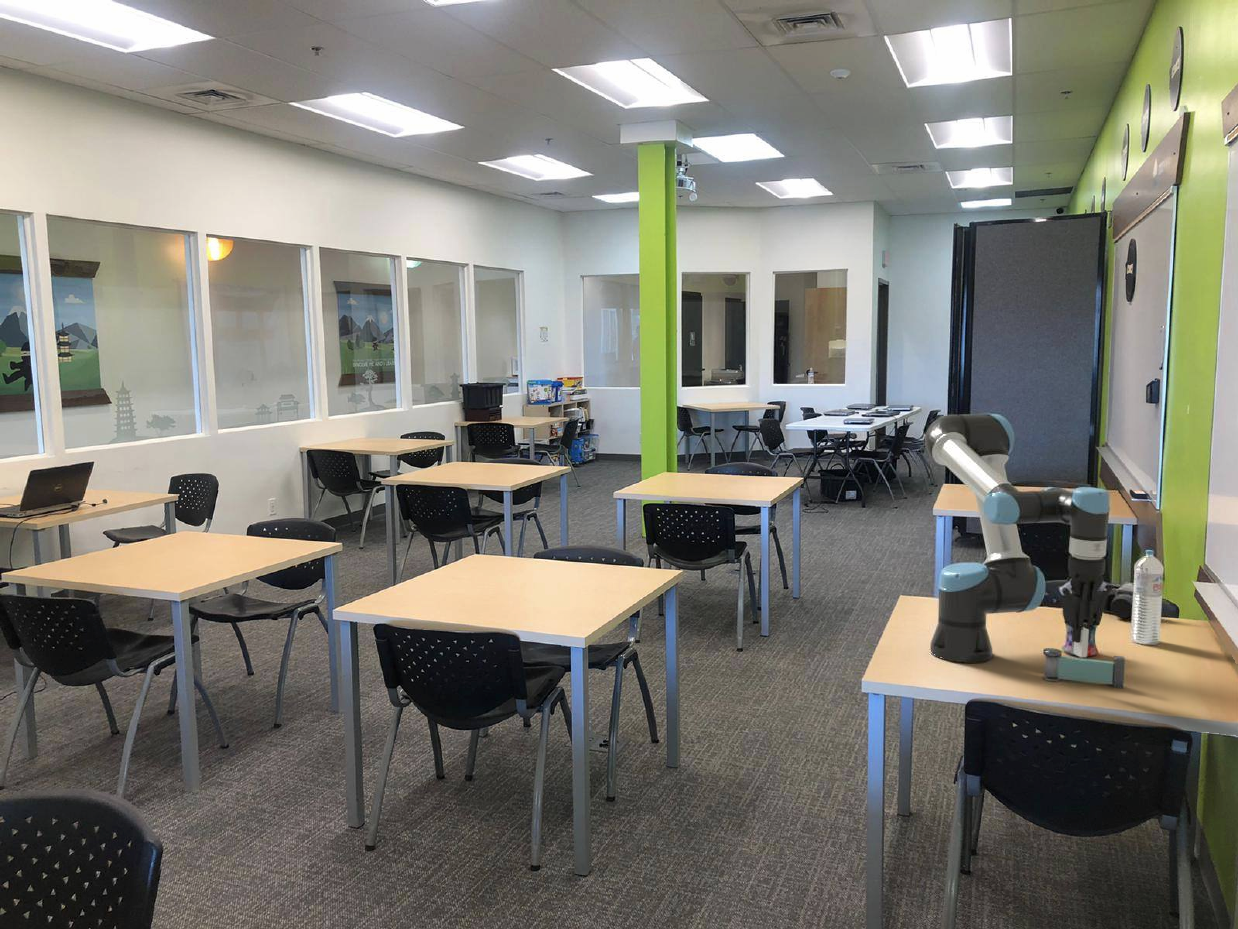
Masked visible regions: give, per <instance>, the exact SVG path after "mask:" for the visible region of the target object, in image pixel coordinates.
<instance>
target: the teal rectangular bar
mask: <svg viewBox="0 0 1238 929" xmlns="http://www.w3.org/2000/svg"><path fill="white" fill-rule="evenodd" d="M1044 656H1045V658H1044V659H1045V660H1044V661H1045V662H1044V675H1045V676H1047V677H1052V678H1056V677H1057V678H1059V679H1061V680H1070V681H1076V682H1077V681H1078V682H1079V681H1080V682H1089V683H1096V684H1104V685H1105V684H1106V685H1110V684H1112V676H1113V663H1114V661H1108V660H1101V659H1100V660H1099V659H1091V658H1090V659H1089V658H1083V657H1072V656H1061V657H1050V656H1046V655H1044Z"/></svg>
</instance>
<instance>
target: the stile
mask: <svg viewBox="0 0 1238 929" xmlns="http://www.w3.org/2000/svg"><path fill="white" fill-rule="evenodd" d="M1125 661H1126V660H1125V657H1124V656H1121V655H1113V676H1112V684H1109V685H1112V686H1113V688H1115V689H1124V681H1125V680H1124V678H1125V664H1126V663H1125Z"/></svg>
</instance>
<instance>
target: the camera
mask: <svg viewBox="0 0 1238 929" xmlns="http://www.w3.org/2000/svg"><path fill="white" fill-rule="evenodd" d="M1108 584H1109V583H1108ZM1109 585H1112V590H1111V591H1110V593H1109V594H1108V597H1107V601H1106V604H1105V608H1104V611H1103V613H1105V614H1106V613H1107V614H1111V615H1113V616H1115V617H1116V618H1120V619H1129V618H1132V601H1133V591H1134V582H1129V581H1126V582H1125V583H1124V584H1120V583H1111V584H1109Z"/></svg>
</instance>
